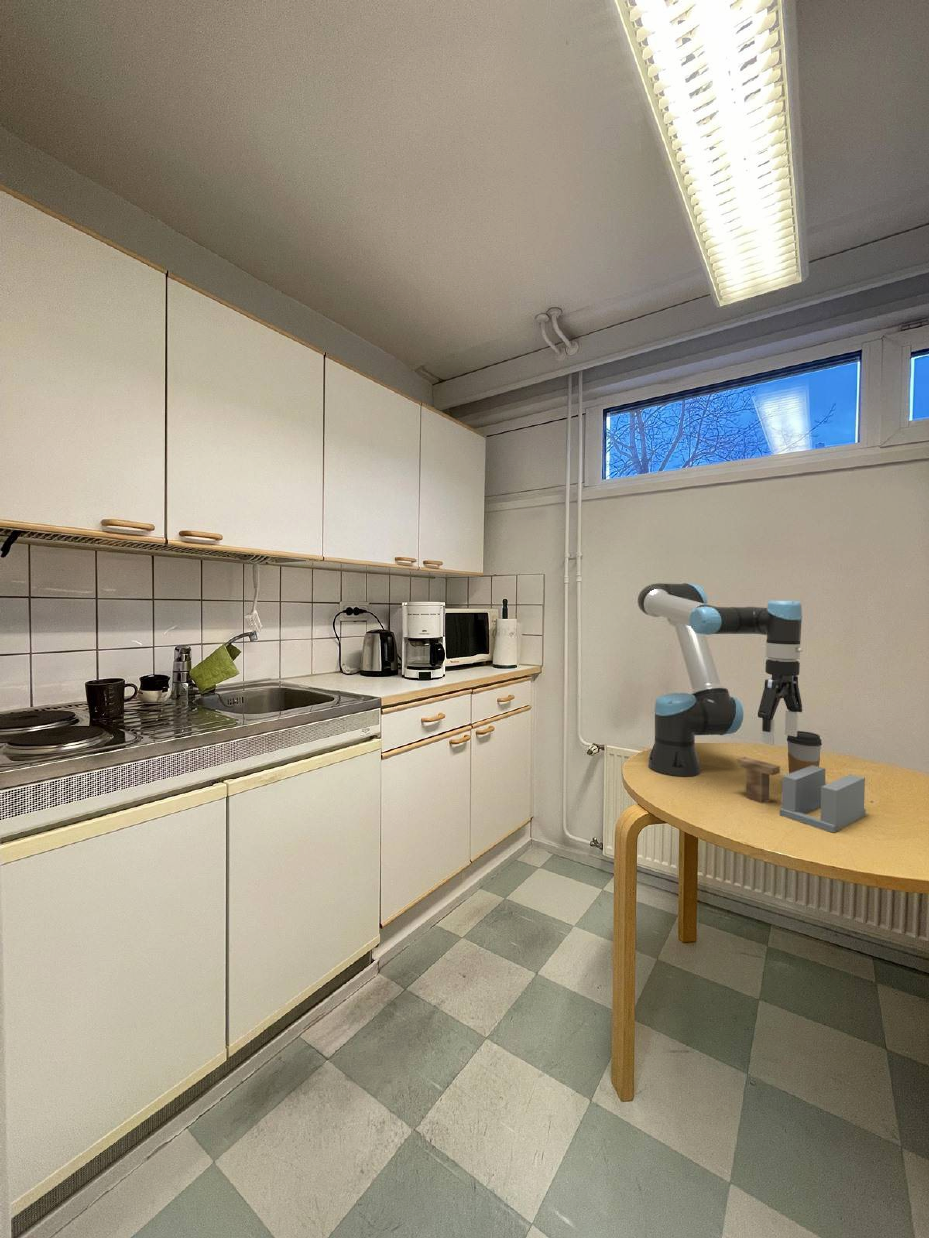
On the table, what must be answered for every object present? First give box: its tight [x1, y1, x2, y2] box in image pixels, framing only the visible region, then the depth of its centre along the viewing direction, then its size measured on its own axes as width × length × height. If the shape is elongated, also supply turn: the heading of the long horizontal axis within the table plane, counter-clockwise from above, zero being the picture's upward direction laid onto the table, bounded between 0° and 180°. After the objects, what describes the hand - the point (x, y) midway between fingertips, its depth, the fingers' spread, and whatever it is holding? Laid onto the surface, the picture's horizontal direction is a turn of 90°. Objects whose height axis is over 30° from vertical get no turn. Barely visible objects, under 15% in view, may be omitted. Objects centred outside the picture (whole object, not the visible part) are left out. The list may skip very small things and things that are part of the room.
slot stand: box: [779, 765, 867, 834], centre depth 122 cm, size 11×18×10 cm, turn 123°
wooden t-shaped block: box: [736, 756, 781, 804], centre depth 132 cm, size 9×4×10 cm, turn 33°
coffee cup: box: [786, 730, 823, 774], centre depth 142 cm, size 8×8×15 cm
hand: (779, 739), depth 131 cm, fingers open, 13 cm apart
